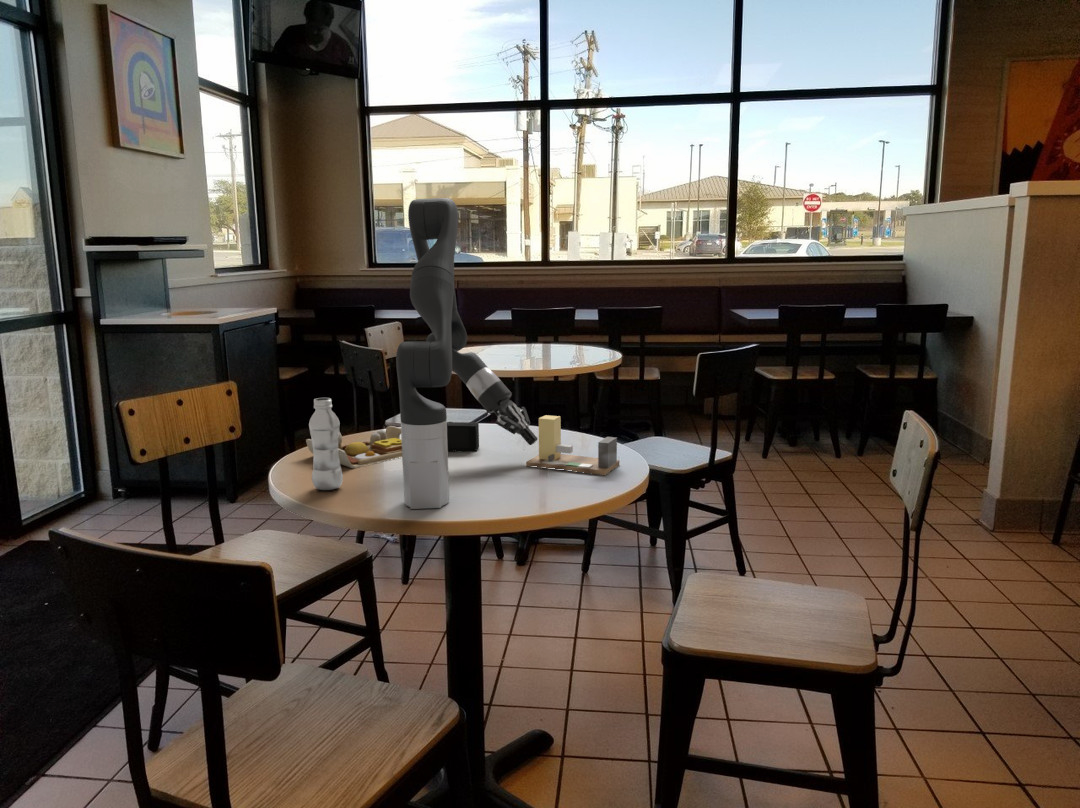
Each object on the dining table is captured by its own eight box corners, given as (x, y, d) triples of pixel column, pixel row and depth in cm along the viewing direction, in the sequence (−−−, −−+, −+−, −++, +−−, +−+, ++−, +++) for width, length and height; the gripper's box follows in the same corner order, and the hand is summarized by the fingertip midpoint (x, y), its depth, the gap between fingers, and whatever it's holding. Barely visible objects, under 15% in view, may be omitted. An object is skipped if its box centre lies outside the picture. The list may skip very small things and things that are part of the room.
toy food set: (344, 472, 187) (342, 441, 185) (305, 459, 200) (303, 429, 198) (429, 453, 205) (428, 424, 203) (389, 441, 217) (388, 414, 216)
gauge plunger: (535, 461, 188) (534, 420, 186) (545, 455, 194) (545, 415, 192) (564, 464, 185) (564, 422, 183) (574, 458, 191) (574, 417, 189)
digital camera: (480, 447, 209) (479, 421, 207) (476, 452, 203) (476, 425, 202) (442, 446, 210) (441, 420, 208) (437, 451, 204) (436, 425, 203)
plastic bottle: (331, 483, 177) (325, 395, 173) (349, 488, 173) (344, 398, 169) (306, 489, 172) (300, 399, 168) (325, 495, 168) (319, 403, 164)
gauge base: (526, 466, 189) (525, 437, 187) (543, 456, 198) (543, 428, 196) (604, 475, 180) (605, 445, 179) (619, 465, 189) (619, 435, 188)
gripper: (485, 383, 187) (532, 438, 185) (510, 375, 199) (555, 427, 196) (466, 404, 191) (512, 458, 188) (492, 395, 202) (535, 446, 200)
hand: (534, 442), depth 192 cm, fingers closed
